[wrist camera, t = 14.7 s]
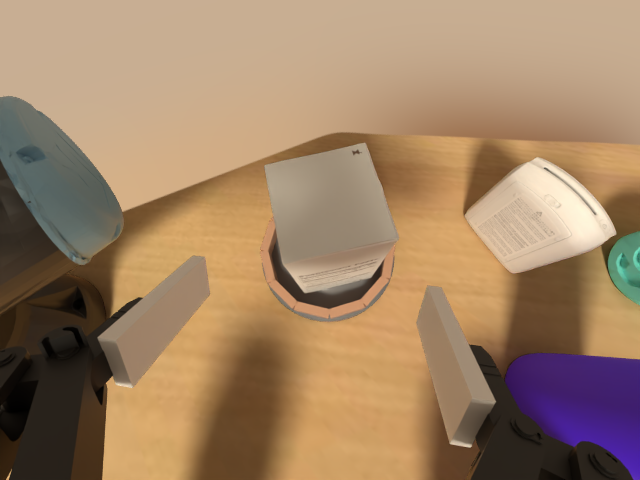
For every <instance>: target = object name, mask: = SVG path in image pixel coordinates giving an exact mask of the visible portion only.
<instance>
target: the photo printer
mask: <svg viewBox="0 0 640 480" xmlns="http://www.w3.org/2000/svg"><path fill="white" fill-rule="evenodd" d="M465 218H466V220H467V222H468V223H469V225H470V226H471V227H472V229H473V230H474V231H475V232H476V234H477V235H478V236H479V237H480V239H481V240H482V241H483V242H484V244H485V245H486V246H487V247H488V248H489V249H490V251H491V252H492V253H493V254H494V255H495V257H496V258H497V259H498V260H499V261H500V263H501V264H502V265H503V266H504V267H505V268H506V269H507V270H508V271H509V272H511V273H521V272H525V271H528V270H532V269H535V268H538V267H541V266H545V265H548V264H551V263H554V262H558V261H561V260H564V259H567V258H570V257H574V256H577V255H580V254H583V253H586V252H589V251H591V250H593V249H595V248H597V247H599V246H600V245H602V244H603V243H604V242H605V241H607V240H608V239H609V238H610V237H612V236H614V235H616V230H615V228H614V225H613V223H612V221H611V219H610V218H609V216H608V214H607V213H606V211H605V210H604V208H603V207H602V206H601V205H600V203H599V202H598V201H597V200H596V198H595V197H594V196H593V195H592V194H591V193H590V192H589V191H588V190H587V189H586V188H585V187H584V186H583V185H582V184H581V183H580V182H578V181H577V180H576V179H575V178H574V177H572V176H571V175H570V174H568V173H567V172H566V171H564V170H563V169H561V168H560V167H558V166H556V165H555V164H553V163H551V162H549V161H547V160H545V159H542V158H540V157H536V158H535V159H533V160H532V161H530V162H526V163H523V164H521V165H519V166H517V167H515V168H514V169H513V170H511V171H510V172H509V173H508V174H507V175H506V176H505V177H504V178H503V179H501V180H500V181H499V182H498V183H497V184H496V185H495V186H494V187H492V188H491V189H490V190H489V191H488V192H487V193H486V194H485V195H483V196H482V197H481V198H480V199H479V200H478V201H477V202H476V203H474V204H473V205H472V206H471V207H470V208H469V209H468V210H467V212H466V214H465Z"/></svg>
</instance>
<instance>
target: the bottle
mask: <svg viewBox="0 0 640 480" xmlns="http://www.w3.org/2000/svg"><path fill="white" fill-rule="evenodd" d="M505 383H506V385H507V387H508V389H509V390H510V392H511V394H512V396H513V398H514V400H515V401H516V403H517V405H518V407H519V409H520V411H521V412H522V413H523V414H525V415H527V416H529V417H530V418H531V419H532V420H534V421H535V422H536V423H537V424H538V425H539V427H540V428H541V429H542V430H543V432H544V433H545V434H547V435H548V436H550V437H553V438H555V439H557V440H559V441H562V442H564V443H566V444H568V445H571V446H573V447H575V446H576V445H577V444H578V443H579V442H581V441H589V442H592V443H595V444H597V445H600V446H601V447H603V448H604V449H606V450H608V451H609V452H611V453H612V454H613V455H614V456H615V457H616V458H618V459H619V460H620V461H621V462H622V463H623V465H624V466H625V467H626V468H627V469H628V470H629V472H630V474H631V476H632V478H633V480H640V360H639V359H626V358H613V357H600V356H587V355H572V354H555V353H534V354H526V355H523V356H521V357H519V358H517V359H516V360H515V361H513V362H512V364H511V365H510V366H509V368H508V370H507V373H506V377H505Z"/></svg>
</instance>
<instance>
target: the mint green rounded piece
mask: <svg viewBox="0 0 640 480" xmlns="http://www.w3.org/2000/svg"><path fill="white" fill-rule="evenodd" d="M608 270H609V274H610V276H611V279H612V281H613V282H614V284H615V285H616V287H617V288H618V289H619V290H620V291H621V292H622V293H623V294H624V295H625V296H626V297H628V298H629V299H630V300H632V301H633V302H635V303H636V304H638V305H640V231H638V232H635V233H632V234H629V235H626V236H624V237H622V238H620V239H619V240H618V241H617V242H616V243H615V245H614V246H613V248H612V249H611V252H610V254H609V258H608Z"/></svg>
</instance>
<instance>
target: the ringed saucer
mask: <svg viewBox="0 0 640 480" xmlns="http://www.w3.org/2000/svg"><path fill="white" fill-rule="evenodd" d="M271 220H272V221H269V224H268V227H267V230H266V233H265V236H264V239H263V242H262V245H261V248H260V250H261V251H260V254H261V258H262V265H263V271H264V275H265V278H266V281H267V283H268V285H269V287H270V289H271V291H272V292H273V294H274V295H275V296H276V298H277V299H278V300H279V301H280V302H281V303H282V304H283V305H284V306H285V307H287V308H288V309H290V310H291V311H293V312H294V313H296V314H298V315H300V316H302V317H305V318H308V319H311V320H316V321H323V322H333V321H341V320H345V319H349V318H351V317H354V316H356V315H358V314H360V313H362V312H364V311H365V310H366V309H368V308H369V307H370V306H372V305H373V304H374V303H375V302H376V301H377V300H378V299H379V298H380V296H381V295H382V294H383V292H384V291H385V289H386V287H387V285H388V284H389V281H390V278H391V276H392V272H393V267H394V252H395V246H393V247H392V249H391V250H390V251H389V253H388V254H387V256H386V257H385V259H384V260H383V261H382V263H381V264H380V266H379V267H378V269H377V270H376V271H375V273H374V274H373V276H372V277H371V278H368V279H364V280H360V281H356V282H352V283H348V284H344V285H339V286H335V287H331V288H327V289H323V290H319V291H315V292H311V293H304V292H303V291H302V289H301V288H300V287H299V285H298V284H297V283H296V281H295V280H294V278H293V277H292V276H291V274H290V273H289V272H288V270H287V269H286V268H285V267H284V265H283V263H282V259H281V254H280V249H279V243H278V238H277V233H276V228H275V222H274V217H272V218H271ZM394 245H395V244H394Z"/></svg>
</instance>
